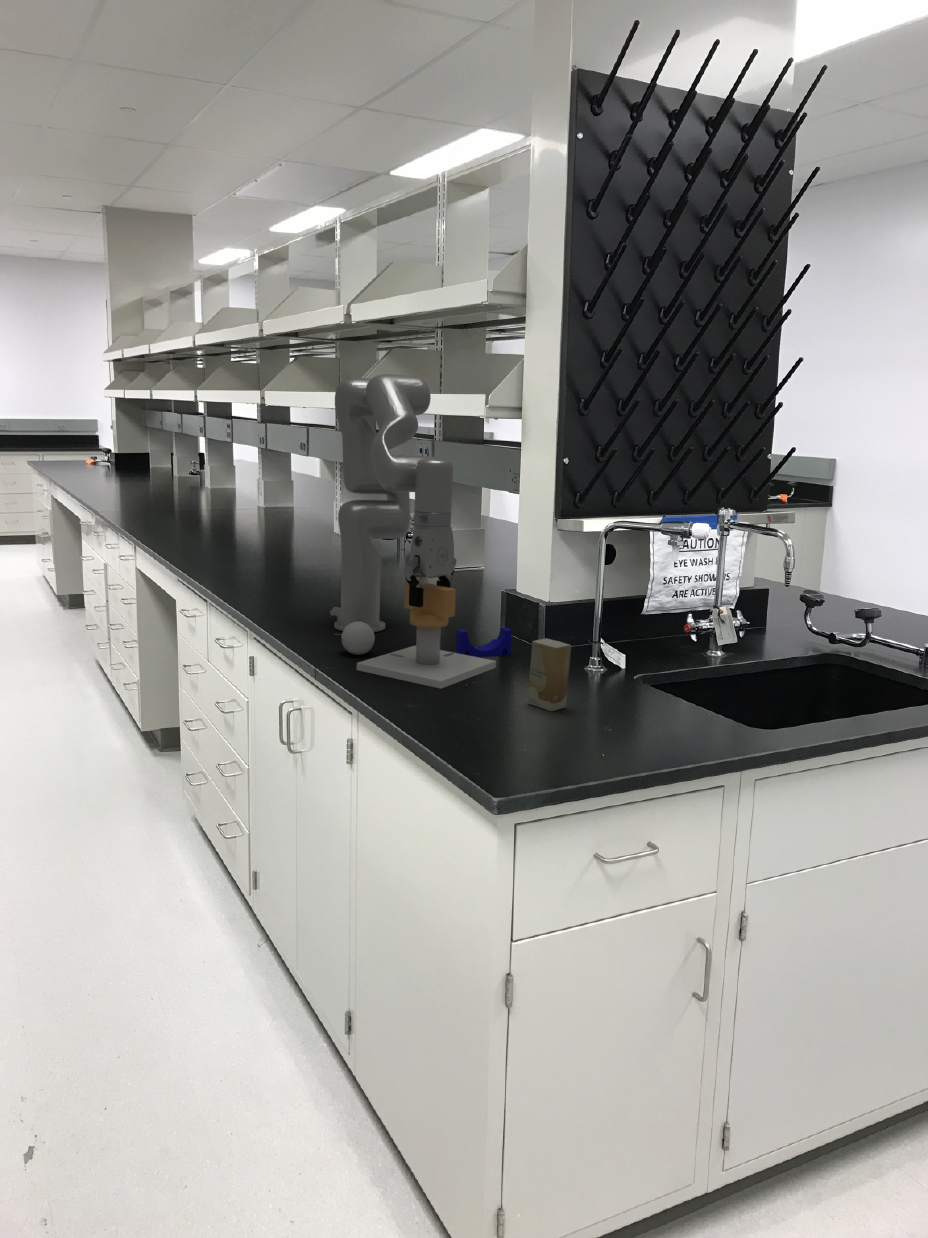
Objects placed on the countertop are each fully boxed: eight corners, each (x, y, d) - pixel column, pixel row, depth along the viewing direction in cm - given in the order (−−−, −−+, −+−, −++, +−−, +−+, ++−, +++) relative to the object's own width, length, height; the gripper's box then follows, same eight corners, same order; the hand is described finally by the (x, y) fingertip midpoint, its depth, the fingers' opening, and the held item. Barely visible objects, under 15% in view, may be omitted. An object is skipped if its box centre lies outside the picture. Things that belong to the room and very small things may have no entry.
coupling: (462, 626, 193) (464, 587, 192) (434, 631, 188) (436, 591, 186) (423, 616, 202) (424, 579, 200) (395, 620, 196) (396, 582, 194)
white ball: (381, 653, 208) (382, 621, 206) (361, 660, 202) (361, 627, 200) (345, 646, 213) (345, 615, 211) (324, 653, 206) (325, 620, 205)
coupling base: (356, 670, 194) (357, 623, 192) (415, 651, 211) (417, 609, 209) (440, 688, 183) (442, 639, 181) (495, 667, 200) (498, 622, 198)
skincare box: (526, 704, 175) (530, 640, 173) (541, 700, 178) (545, 637, 176) (552, 712, 171) (556, 647, 168) (567, 708, 174) (572, 644, 171)
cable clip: (503, 651, 215) (504, 626, 214) (510, 656, 211) (511, 630, 210) (453, 653, 212) (454, 627, 210) (459, 658, 207) (461, 632, 206)
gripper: (422, 525, 181) (420, 611, 185) (470, 519, 196) (467, 600, 199) (392, 521, 185) (389, 606, 189) (441, 516, 199) (438, 595, 203)
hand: (429, 603), depth 194 cm, fingers open, 9 cm apart
